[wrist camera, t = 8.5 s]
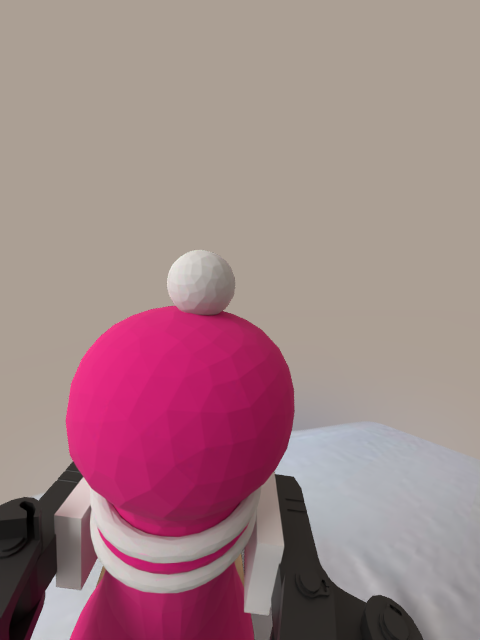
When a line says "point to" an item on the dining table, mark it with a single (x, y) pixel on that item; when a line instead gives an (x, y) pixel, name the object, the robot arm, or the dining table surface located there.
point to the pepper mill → (177, 458)
